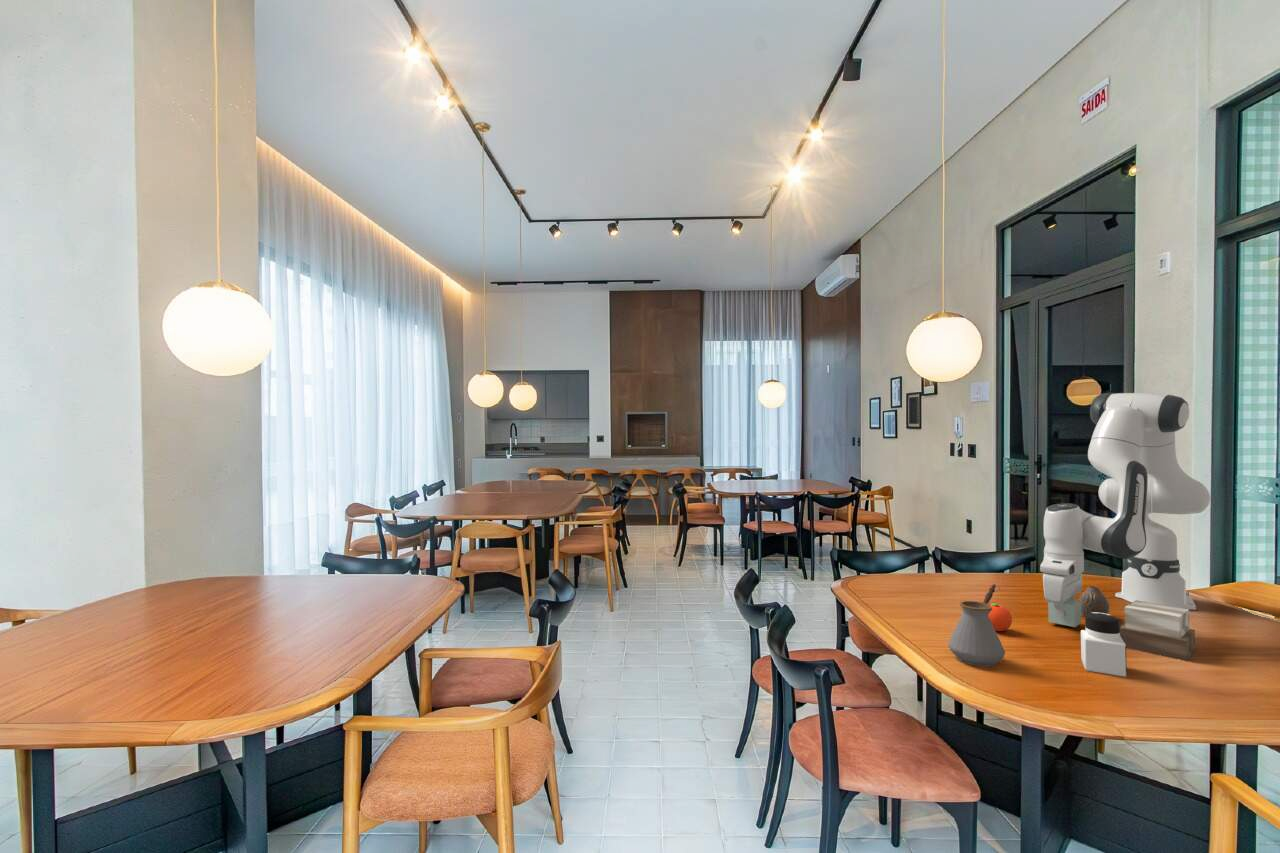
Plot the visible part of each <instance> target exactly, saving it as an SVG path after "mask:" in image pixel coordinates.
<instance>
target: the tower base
mask: <svg viewBox="0 0 1280 853" xmlns="http://www.w3.org/2000/svg"><path fill="white" fill-rule="evenodd" d="M1195 631H1196V630H1195V629H1192V628H1190V630H1189V631H1188V632H1187V633H1186V634H1185V635H1183V636H1182V637H1181V638H1180V639H1179V638H1174V637H1169V636H1164V635H1160V634H1155V633H1150V632H1145V631H1140V630H1135V629H1130V628H1126V627H1125V623H1123V624H1122V625H1120V637H1121V638H1122V640H1123V641H1124V643H1125V644H1126V649H1128V650H1133V651H1137V650H1138V651H1139V652H1142V653H1146V652H1147V654H1153V655H1156V656H1160V655H1161V657H1165V658H1170V659H1174V660H1178V659H1180V661H1183V662H1188V660H1189V658H1191V656H1192V654H1193V653H1194V651H1195V650H1196V635H1195V634H1196V632H1195Z"/></svg>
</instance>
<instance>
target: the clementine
mask: <svg viewBox="0 0 1280 853" xmlns="http://www.w3.org/2000/svg"><path fill="white" fill-rule="evenodd" d="M988 605H990V606H991V607H992V610H991V611H990V613H989V614H988V616H989V618H990V620H991V623H992V625H993V627H994V629H995V631H996V632H1005V631H1006V630H1008V629H1009V628H1010V627H1011V625H1012V623H1013V617H1012V615H1011V613H1010V611H1009V610H1008V609H1007V608H1006V607H1004V606H1003V605H1001V604H997V603H988Z"/></svg>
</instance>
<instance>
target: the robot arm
mask: <svg viewBox="0 0 1280 853" xmlns="http://www.w3.org/2000/svg"><path fill="white" fill-rule="evenodd" d="M1089 417H1090V419H1091V421H1092V422H1093V424H1095V427H1094V430H1093V433H1092V435H1091V439H1090V443H1089V445H1088V450H1087V459H1088V461H1089V462H1090V465H1091V466H1092V467H1093V468H1094V469H1096V470H1097V471H1098V472H1100V473H1102V474H1104V475H1105V476H1108V477H1110V478H1106V479H1104V480H1103V481H1102V482H1101V484H1100V485H1099V488H1098V497H1099V500H1100V502H1101V504H1102V505H1103V506H1105V507H1106V508H1108V509H1109V510H1111V511H1112V512H1113V513H1115V514H1116V515H1115V517H1113V518H1111V517H1105V516H1099V515H1093V514H1091V513H1089V512H1087V511H1084V510H1083V509H1082V508H1080V505H1078V504H1076V503H1075V504H1074V503H1066V502H1063V503H1055V504H1054V503H1053V504H1052V505H1049V506H1047V507H1046V508H1045V511H1044V512H1045V513H1044V516H1043V538H1044V541H1045V542H1044V544H1045V545H1044V548H1043V560H1042V562H1041V563H1040V568H1039V570H1040V572H1041V573H1043V574H1042V585H1043V586H1042V587H1043V594H1044V599H1045V600H1046V602H1047V603H1048V602H1051V603H1054V606H1055V609H1056V616H1058V617H1064V616H1065V610H1064V602H1065V601H1067V600H1068V599H1075V600H1076V595H1077V594H1079V593H1081V592H1082V590H1083V575H1082V573H1084V572H1085V556H1084V554H1085V553H1084V550H1090V551H1092V552H1097V553H1101V554H1105V555H1106V554H1107V555H1109V556H1113V557H1115V558H1119V559H1122V560H1127V565H1128V568H1127V569H1125V570H1124V571H1122V574H1121V591H1119V592H1116V593H1115V597H1116V598H1120V599H1123V600H1125V601H1126V602H1129V603H1132V602H1134V601H1136V600H1138V601H1143V602H1149V603H1155V604H1161V605H1166V606H1172V607H1178V608H1184V609H1189V610H1192V611H1193V610H1197V606H1196V604H1195V602H1194V600H1193V597H1192V596H1190V592H1189V591H1187V587H1186V586H1187V583H1186V580H1185V579H1184V577H1182V575H1181V573H1180V571H1181V563H1180V560H1179V559H1178V540H1177V539H1178V538H1177V535H1176V534H1175V532H1174V531H1173V530H1171V528H1169V527H1168V526H1167V527H1166V526H1165V525H1162V524H1160V523H1158V522H1155V521H1154V520H1152V519H1151V518H1150V517H1149V514H1153V513H1154V514H1166V515H1167V514H1168V515H1191V514H1192V515H1193V514H1200V513H1202V512H1204V511H1205V510H1206V509H1207V508H1208V506H1209V505H1210V501H1211V494H1210V491H1209V490H1208V488H1207V487H1206V486H1205V485H1204V484H1203V483H1201V482H1200V481H1198V480H1196V479H1195V478H1193V477H1191V476H1190V475H1188V474H1187V473H1186V472H1185V471H1184V470H1183V469H1182V467H1181V466H1180V465H1179V462H1178V459H1177V453H1176V433H1175V432H1177V431H1179V430H1180V431H1181V429H1184V428H1185V426H1186V424H1187V422H1188V421H1189V418H1190V409H1189V404H1188V402H1187V400H1185V399H1184V397H1180V396H1177V395H1172V394H1167V395H1165V394H1158V393H1157V394H1156V393H1148V392H1119V393H1117V392H1116V393H1114V392H1105V393H1100V394H1098V395H1097V396H1095V397H1094V398H1093V399H1092V401H1091V404H1090V407H1089ZM1148 475H1149V476H1150V477H1148Z"/></svg>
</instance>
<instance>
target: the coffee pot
mask: <svg viewBox="0 0 1280 853" xmlns="http://www.w3.org/2000/svg"><path fill="white" fill-rule="evenodd" d="M996 587H997V588H998V589H999V590H995V589H996ZM988 590H989V591H987V593H986V594H985V597H984V599H983V601H982V602H980V601H974V600H973V601H970V600H964V601H960V602H959V606H961V609H962V613H961V615H960V617H959V619H958V621H957V623H956V626H955V627H954V630H953V632H952V634H951V636H950V638H949V640H948V642H947V645H948V648H949V650H950V651H951V653H952V654H953V655H954V656H956V657H957V659H958V660H959V661H961V662H963V663H965V664H968V665H972V666H977V667H994V666H996V664H997V663H999V662H1001V661H1002V660H1003V659H1004V657H1005V655H1006V651H1005V649H1004V646H1003V644H1002V642H1001V639H1000V637H999V636H998V634H997V631H995V629H994V627H993V625H992V623H991V620H990V618H989V616H988V614H989V613H990V611H991V610H992V607H991V606H990V605H988V604H990V601H991V599H992V597H993V594H994V593H995V592H996V593H997V592H1000V591H1001V588H1000V586H999V585H996V584H995V583H993V584H992V585H989V588H988Z"/></svg>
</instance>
